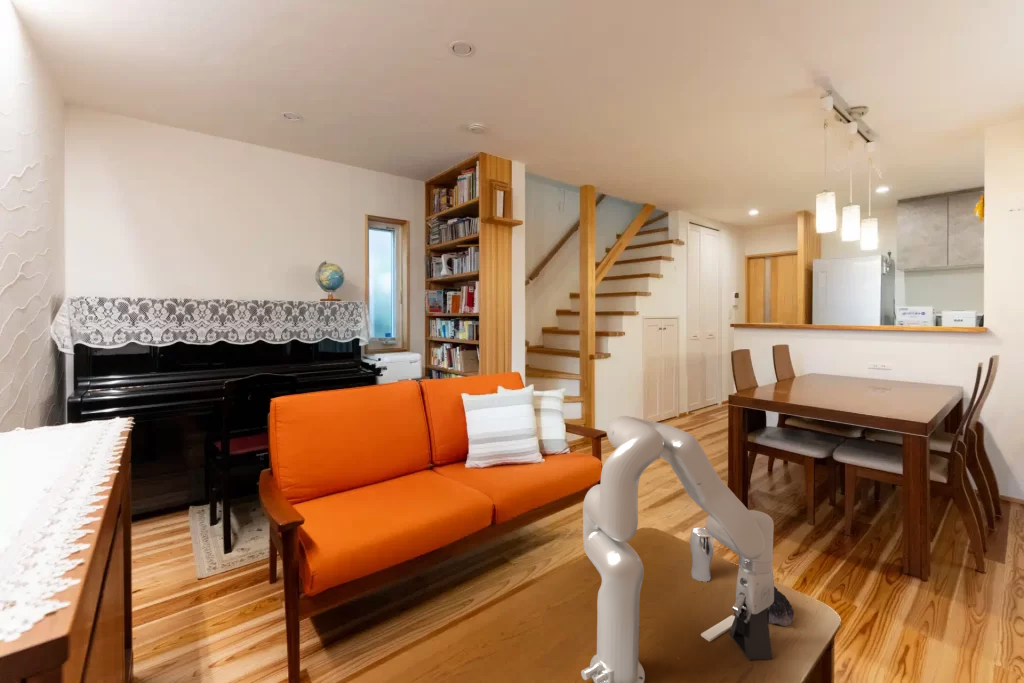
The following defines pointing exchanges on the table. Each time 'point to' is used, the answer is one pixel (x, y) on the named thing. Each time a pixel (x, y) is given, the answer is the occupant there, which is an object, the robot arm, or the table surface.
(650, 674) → the table surface
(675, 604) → the table surface
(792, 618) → the black rock
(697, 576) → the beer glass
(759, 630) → the phone stand
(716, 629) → the cream panel
